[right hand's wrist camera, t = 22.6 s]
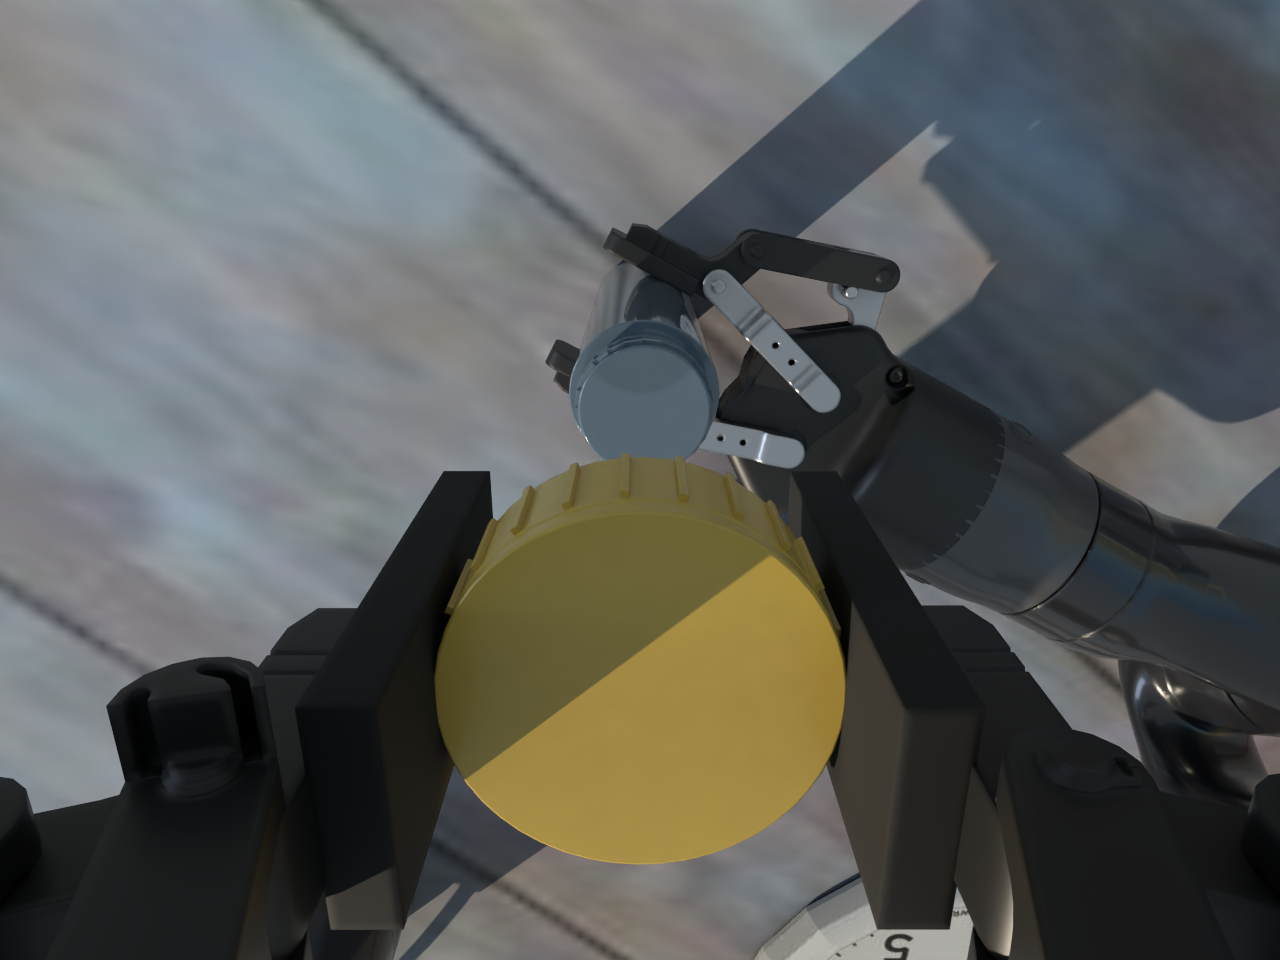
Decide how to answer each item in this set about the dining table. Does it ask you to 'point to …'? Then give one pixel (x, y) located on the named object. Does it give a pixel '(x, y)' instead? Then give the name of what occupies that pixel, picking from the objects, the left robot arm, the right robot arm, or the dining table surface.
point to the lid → (640, 664)
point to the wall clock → (863, 933)
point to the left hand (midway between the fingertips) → (581, 295)
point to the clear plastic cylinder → (643, 371)
